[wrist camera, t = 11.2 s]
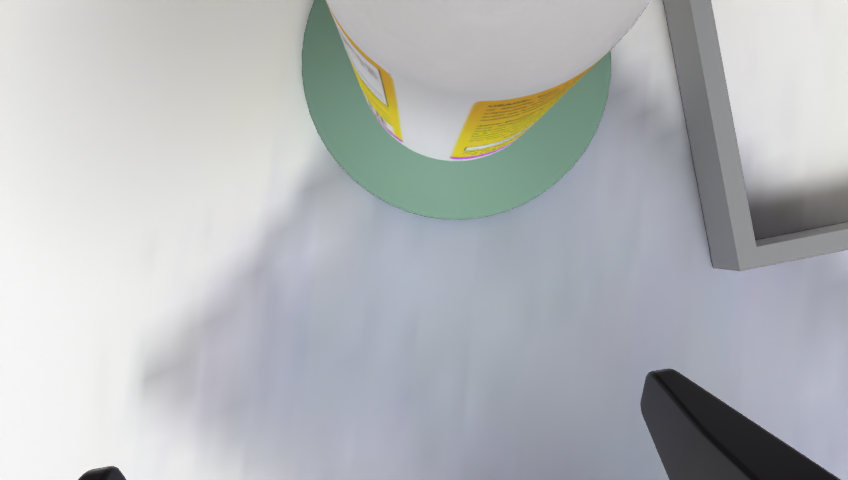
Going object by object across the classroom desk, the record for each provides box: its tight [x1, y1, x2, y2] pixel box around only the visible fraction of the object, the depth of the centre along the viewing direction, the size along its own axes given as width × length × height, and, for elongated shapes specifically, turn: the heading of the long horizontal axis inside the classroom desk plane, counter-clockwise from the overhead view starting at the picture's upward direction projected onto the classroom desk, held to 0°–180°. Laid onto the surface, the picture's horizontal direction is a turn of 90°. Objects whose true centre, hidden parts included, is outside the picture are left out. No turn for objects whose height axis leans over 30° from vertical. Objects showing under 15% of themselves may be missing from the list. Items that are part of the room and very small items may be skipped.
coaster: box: [302, 0, 611, 219], centre depth 19 cm, size 11×11×1 cm
